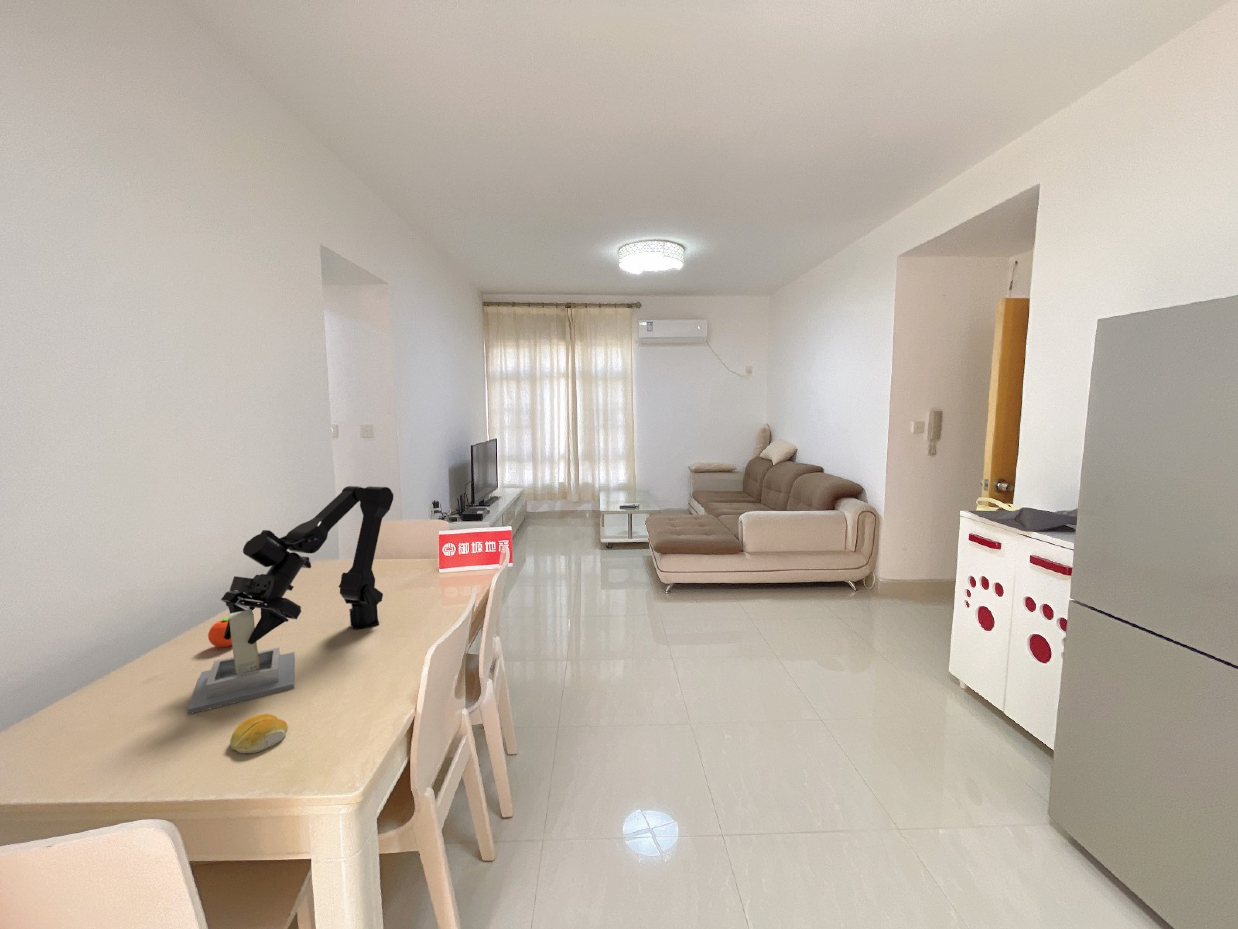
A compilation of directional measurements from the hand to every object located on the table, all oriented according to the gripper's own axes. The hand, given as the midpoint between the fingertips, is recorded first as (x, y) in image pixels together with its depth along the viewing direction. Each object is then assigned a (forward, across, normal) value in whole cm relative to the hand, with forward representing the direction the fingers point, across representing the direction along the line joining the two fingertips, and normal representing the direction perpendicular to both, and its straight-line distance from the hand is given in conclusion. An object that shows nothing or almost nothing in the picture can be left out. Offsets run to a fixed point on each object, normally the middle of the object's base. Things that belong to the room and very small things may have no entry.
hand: (237, 641), depth 114 cm
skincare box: (+4, 0, +6) cm, 7 cm away
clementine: (-2, -24, +16) cm, 29 cm away
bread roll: (+16, +23, -2) cm, 28 cm away
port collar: (+6, 0, +8) cm, 10 cm away
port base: (+6, 0, +8) cm, 10 cm away
